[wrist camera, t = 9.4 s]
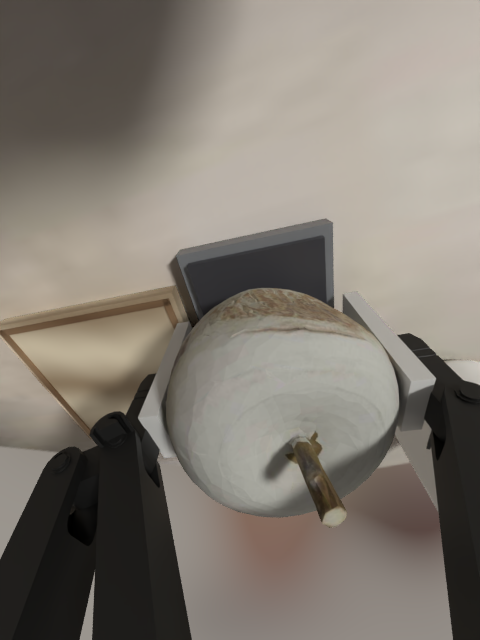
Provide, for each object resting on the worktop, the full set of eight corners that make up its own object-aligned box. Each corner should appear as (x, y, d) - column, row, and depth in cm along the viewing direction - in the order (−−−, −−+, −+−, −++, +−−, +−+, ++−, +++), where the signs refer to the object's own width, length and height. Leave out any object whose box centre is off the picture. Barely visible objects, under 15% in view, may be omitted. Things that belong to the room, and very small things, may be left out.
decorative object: (202, 381, 17) (164, 590, 9) (179, 258, 13) (50, 447, 4) (331, 377, 17) (420, 590, 8) (356, 248, 12) (606, 434, 4)
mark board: (4, 319, 16) (-10, 328, 16) (175, 285, 15) (171, 293, 14) (96, 428, 23) (89, 439, 22) (223, 412, 21) (222, 423, 20)
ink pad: (180, 249, 14) (174, 258, 13) (326, 218, 13) (335, 224, 12) (223, 377, 19) (222, 392, 18) (330, 361, 18) (336, 376, 17)
